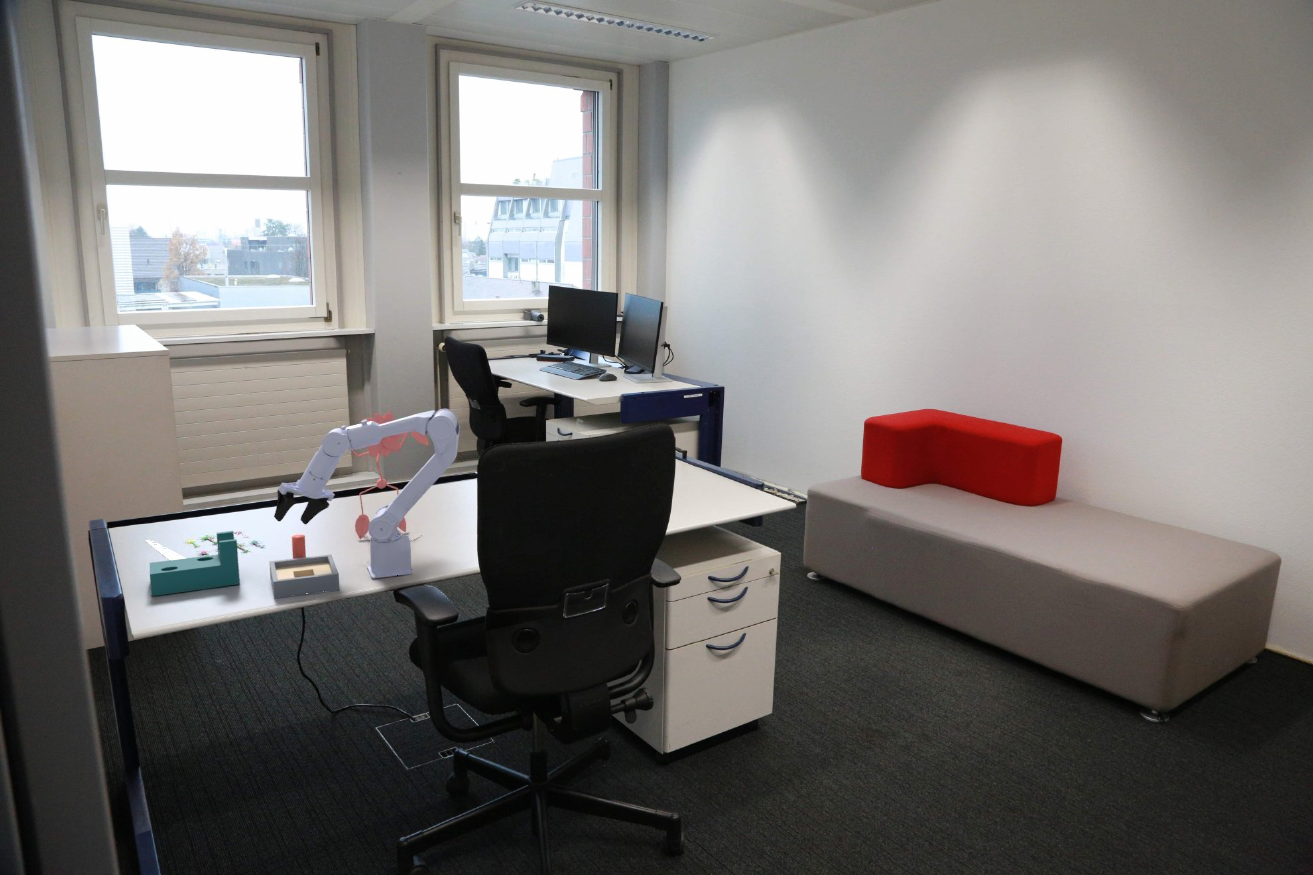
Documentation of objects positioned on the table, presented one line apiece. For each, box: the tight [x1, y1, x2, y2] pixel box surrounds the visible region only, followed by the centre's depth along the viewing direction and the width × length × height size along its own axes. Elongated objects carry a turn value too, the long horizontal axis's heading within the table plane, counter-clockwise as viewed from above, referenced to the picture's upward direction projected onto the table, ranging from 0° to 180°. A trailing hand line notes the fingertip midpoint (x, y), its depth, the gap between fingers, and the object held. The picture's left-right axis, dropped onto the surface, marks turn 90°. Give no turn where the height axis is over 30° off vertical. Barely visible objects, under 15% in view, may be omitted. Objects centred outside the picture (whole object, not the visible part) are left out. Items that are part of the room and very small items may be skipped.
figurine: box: [350, 411, 429, 543], centre depth 241 cm, size 15×26×35 cm, turn 123°
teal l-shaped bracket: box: [149, 530, 241, 597], centre depth 208 cm, size 18×11×10 cm, turn 119°
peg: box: [291, 534, 307, 559], centre depth 221 cm, size 3×3×8 cm
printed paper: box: [145, 530, 266, 561], centre depth 236 cm, size 30×30×2 cm
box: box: [269, 554, 340, 599], centre depth 211 cm, size 14×14×4 cm
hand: (290, 520), depth 215 cm, fingers open, 7 cm apart
